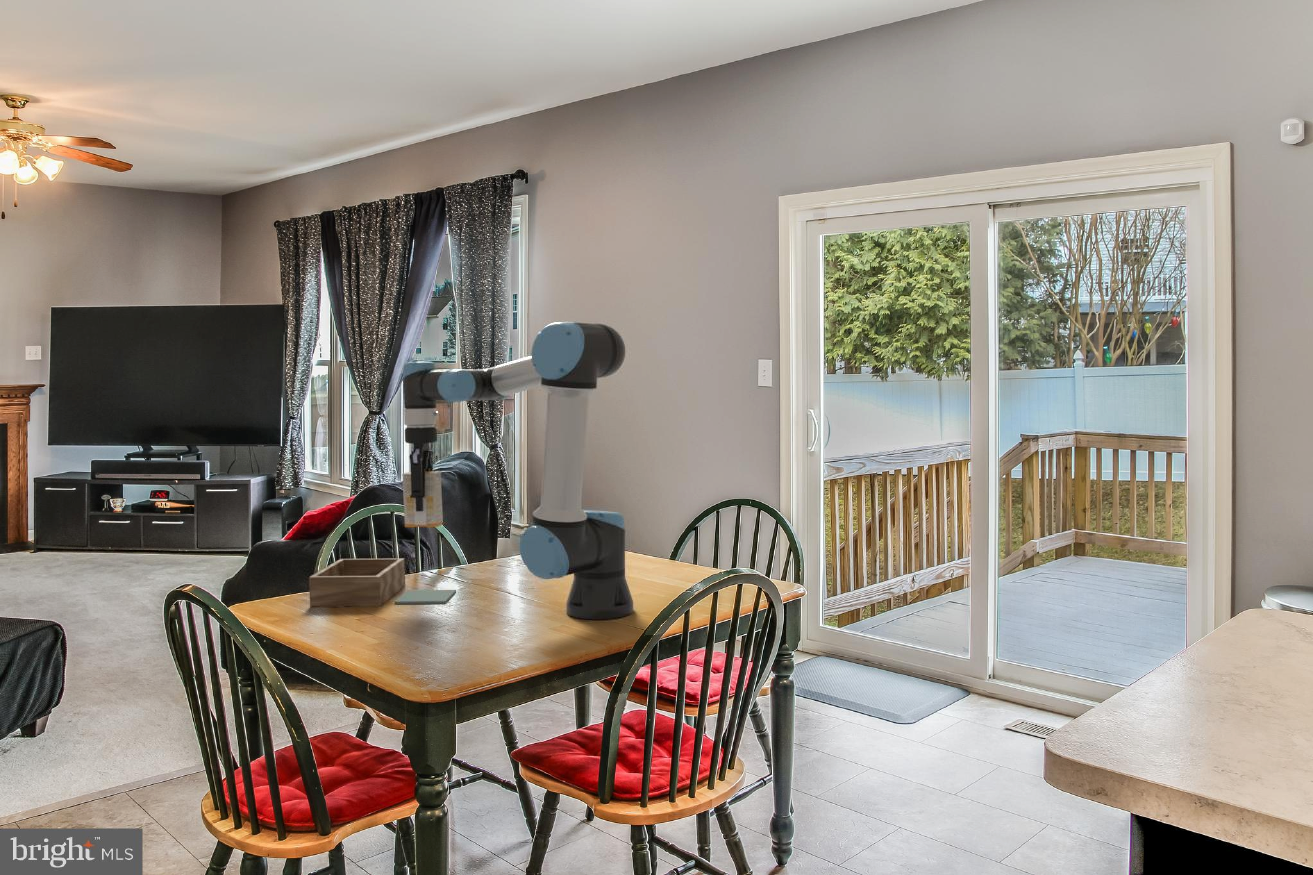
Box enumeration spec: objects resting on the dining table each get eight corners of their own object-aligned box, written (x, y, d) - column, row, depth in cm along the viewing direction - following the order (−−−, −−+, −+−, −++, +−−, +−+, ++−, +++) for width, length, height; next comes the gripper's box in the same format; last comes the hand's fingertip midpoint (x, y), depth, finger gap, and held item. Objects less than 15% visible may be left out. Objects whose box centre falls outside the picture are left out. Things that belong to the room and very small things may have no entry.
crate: (380, 606, 226) (379, 576, 226) (309, 606, 226) (309, 577, 226) (405, 585, 248) (404, 558, 248) (341, 585, 248) (340, 558, 248)
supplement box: (443, 524, 235) (442, 470, 234) (437, 527, 230) (435, 472, 229) (410, 524, 236) (408, 470, 235) (403, 527, 231) (401, 472, 230)
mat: (445, 603, 228) (445, 601, 228) (394, 603, 228) (394, 601, 228) (456, 592, 240) (456, 589, 240) (407, 592, 240) (407, 590, 240)
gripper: (427, 428, 222) (430, 528, 224) (444, 424, 240) (447, 517, 242) (394, 428, 222) (398, 529, 224) (414, 424, 240) (417, 517, 242)
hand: (423, 522), depth 233 cm, fingers closed on supplement box, 5 cm apart
